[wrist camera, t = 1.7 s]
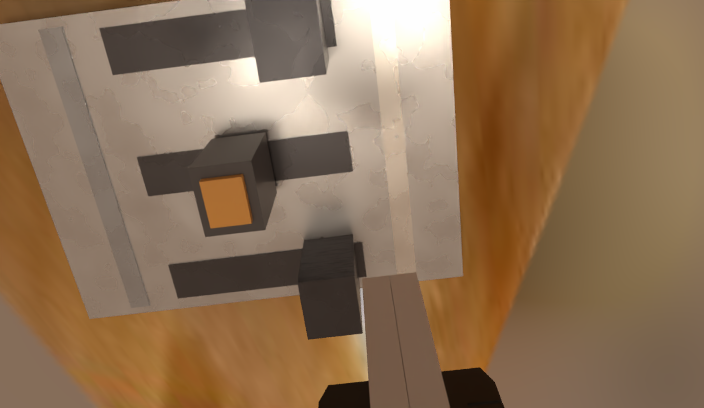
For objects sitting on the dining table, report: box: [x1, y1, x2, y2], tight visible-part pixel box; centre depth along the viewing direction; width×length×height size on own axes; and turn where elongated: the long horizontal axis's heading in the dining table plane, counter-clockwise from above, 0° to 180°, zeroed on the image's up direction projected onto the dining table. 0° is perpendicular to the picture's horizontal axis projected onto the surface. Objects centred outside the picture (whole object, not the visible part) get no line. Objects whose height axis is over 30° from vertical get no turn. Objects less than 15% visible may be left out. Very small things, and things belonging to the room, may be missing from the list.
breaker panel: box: [0, 0, 463, 339], centre depth 29 cm, size 18×24×7 cm
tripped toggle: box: [188, 132, 277, 237], centre depth 28 cm, size 4×3×5 cm
